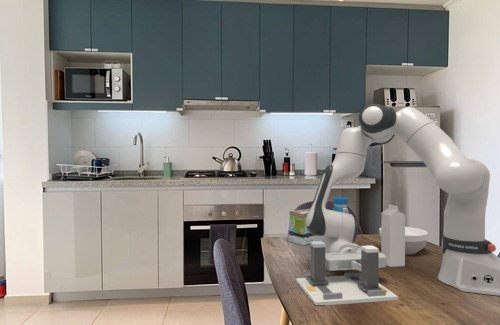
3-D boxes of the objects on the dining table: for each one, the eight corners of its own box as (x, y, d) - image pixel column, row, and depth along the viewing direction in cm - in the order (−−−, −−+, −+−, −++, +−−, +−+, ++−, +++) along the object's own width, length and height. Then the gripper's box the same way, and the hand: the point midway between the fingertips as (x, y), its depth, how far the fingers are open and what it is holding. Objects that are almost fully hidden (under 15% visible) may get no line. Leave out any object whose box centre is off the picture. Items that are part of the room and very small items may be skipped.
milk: (395, 261, 128) (395, 203, 128) (405, 266, 122) (405, 206, 122) (380, 262, 127) (381, 204, 127) (389, 267, 121) (390, 206, 121)
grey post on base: (373, 285, 100) (373, 244, 100) (382, 291, 95) (382, 249, 95) (357, 286, 100) (357, 245, 99) (366, 292, 95) (366, 250, 94)
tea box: (304, 246, 150) (304, 213, 150) (288, 241, 158) (288, 210, 158) (325, 240, 160) (325, 210, 160) (309, 237, 168) (309, 207, 167)
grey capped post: (322, 278, 106) (322, 240, 106) (328, 284, 101) (328, 244, 101) (307, 279, 105) (307, 241, 105) (312, 285, 100) (312, 245, 100)
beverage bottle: (331, 239, 162) (331, 198, 161) (331, 235, 170) (331, 196, 169) (350, 240, 160) (350, 199, 159) (348, 236, 168) (348, 196, 168)
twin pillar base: (365, 277, 111) (365, 270, 111) (398, 299, 93) (398, 291, 93) (296, 281, 107) (296, 274, 107) (315, 306, 89) (315, 297, 89)
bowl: (421, 246, 149) (421, 227, 149) (433, 259, 131) (433, 236, 130) (376, 244, 154) (376, 225, 153) (382, 255, 135) (382, 234, 135)
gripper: (316, 247, 112) (332, 259, 98) (373, 244, 115) (396, 256, 101) (316, 266, 112) (332, 281, 98) (373, 263, 115) (396, 277, 101)
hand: (365, 268), depth 100 cm, fingers closed
